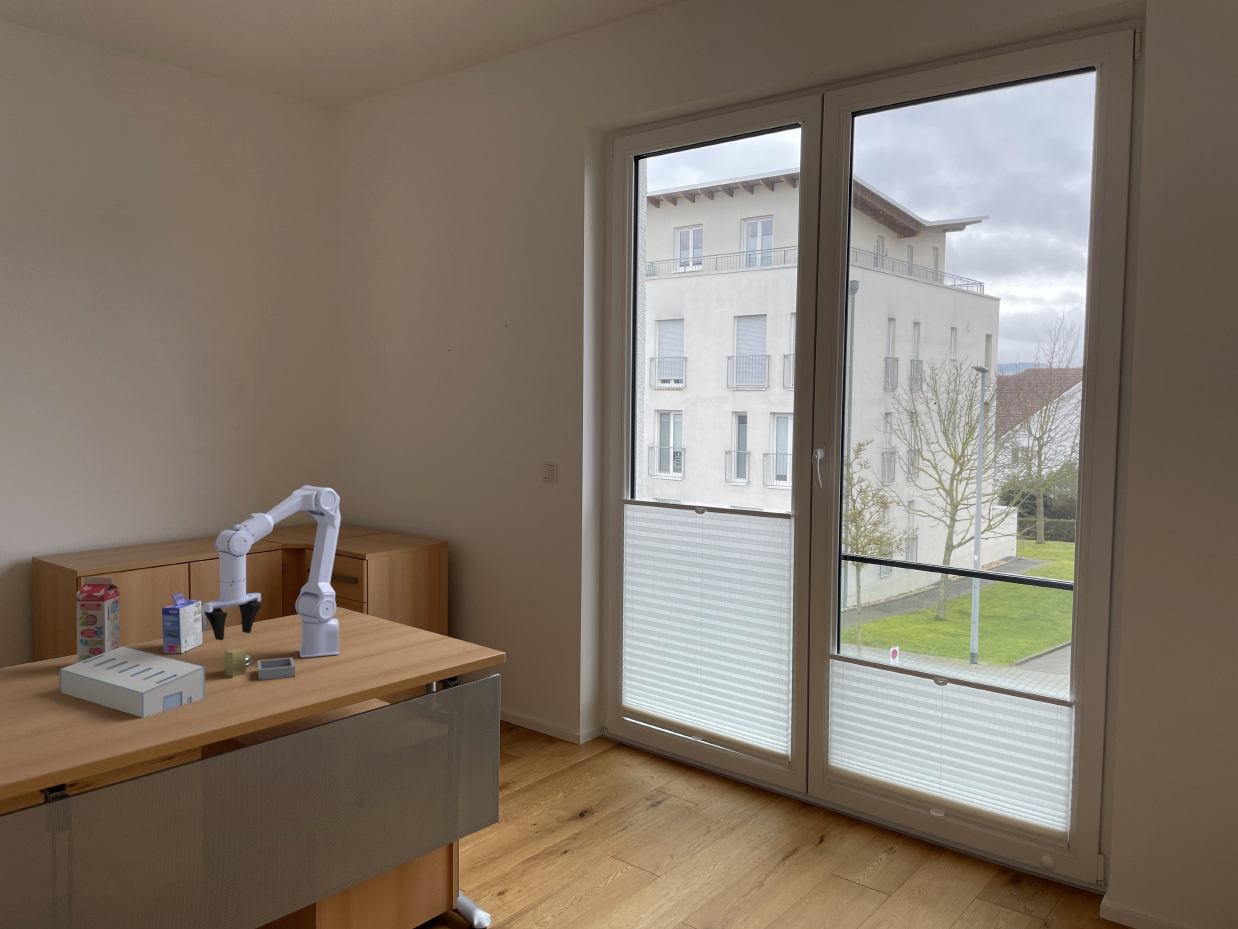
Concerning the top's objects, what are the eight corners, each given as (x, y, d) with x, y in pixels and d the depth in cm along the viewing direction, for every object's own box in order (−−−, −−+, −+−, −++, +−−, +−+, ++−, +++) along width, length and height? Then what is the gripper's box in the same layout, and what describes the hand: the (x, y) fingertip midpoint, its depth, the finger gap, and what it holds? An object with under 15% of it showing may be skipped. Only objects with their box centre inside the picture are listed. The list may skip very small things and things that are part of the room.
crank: (236, 658, 219) (236, 644, 219) (252, 658, 219) (252, 644, 219) (221, 669, 210) (221, 654, 210) (237, 669, 210) (237, 655, 210)
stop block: (238, 672, 211) (238, 647, 211) (246, 674, 209) (245, 650, 209) (224, 675, 208) (224, 650, 208) (232, 678, 206) (232, 653, 206)
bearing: (252, 660, 220) (252, 658, 220) (253, 666, 216) (253, 664, 216) (230, 662, 218) (230, 660, 218) (230, 668, 214) (230, 666, 214)
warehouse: (59, 694, 193) (59, 660, 193) (122, 677, 206) (122, 646, 205) (142, 719, 179) (142, 684, 179) (205, 700, 192) (204, 666, 191)
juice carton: (93, 661, 216) (91, 574, 215) (120, 662, 216) (119, 575, 215) (77, 669, 209) (76, 580, 208) (105, 670, 210) (104, 580, 208)
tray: (292, 667, 215) (292, 657, 215) (294, 676, 208) (294, 666, 208) (257, 670, 212) (257, 660, 212) (258, 680, 205) (258, 669, 205)
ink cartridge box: (184, 643, 235) (183, 590, 234) (203, 644, 234) (203, 591, 233) (161, 653, 225) (160, 598, 224) (181, 654, 224) (181, 599, 223)
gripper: (247, 573, 216) (247, 627, 217) (194, 583, 203) (195, 640, 204) (266, 576, 212) (266, 631, 213) (214, 586, 200) (215, 644, 201)
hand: (233, 636), depth 208 cm, fingers open, 7 cm apart
